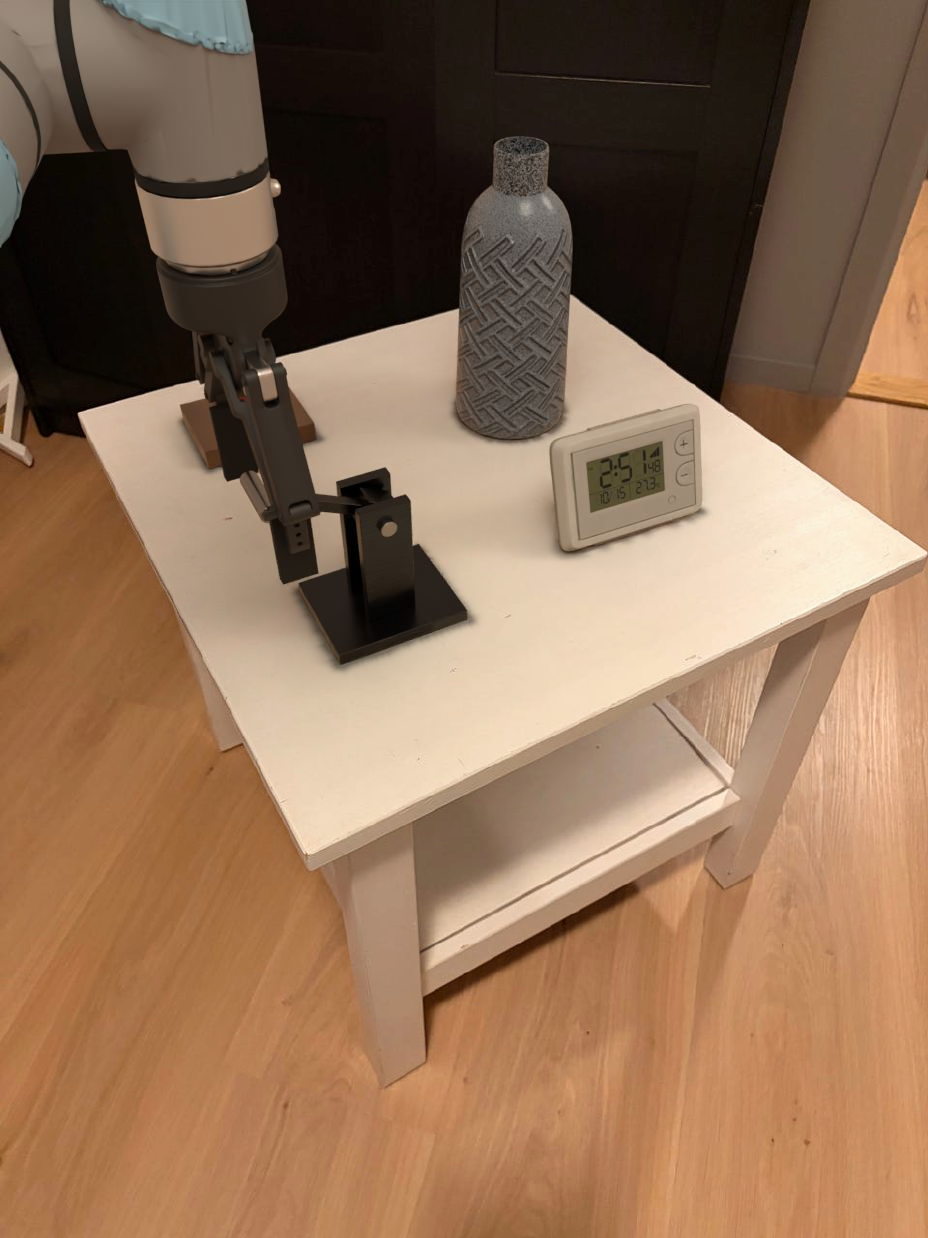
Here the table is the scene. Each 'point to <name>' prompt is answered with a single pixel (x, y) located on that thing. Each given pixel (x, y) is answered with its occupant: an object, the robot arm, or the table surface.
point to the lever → (327, 502)
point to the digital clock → (626, 476)
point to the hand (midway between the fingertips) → (268, 522)
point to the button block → (204, 436)
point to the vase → (514, 298)
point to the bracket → (379, 579)
